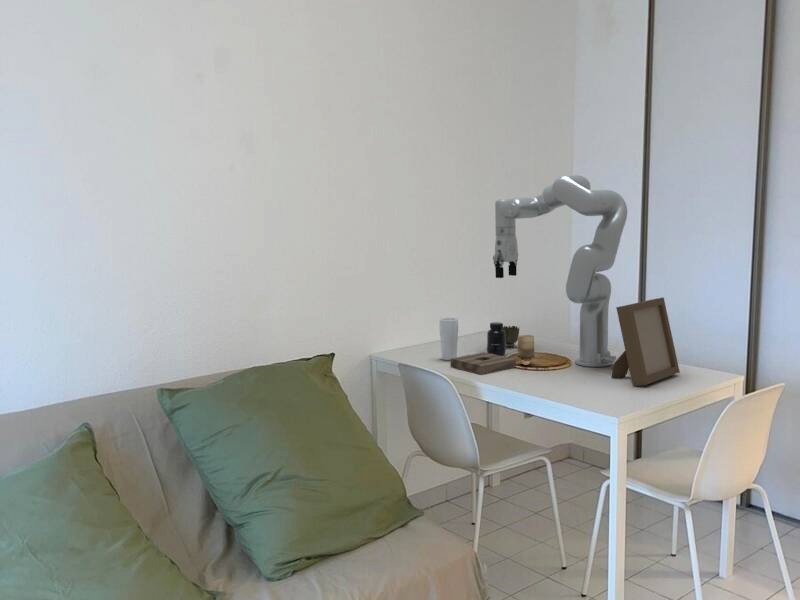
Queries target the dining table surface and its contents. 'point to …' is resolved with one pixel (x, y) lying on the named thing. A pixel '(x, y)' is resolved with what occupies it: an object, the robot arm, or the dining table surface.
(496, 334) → the supplement bottle
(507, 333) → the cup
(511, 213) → the robot arm
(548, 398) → the dining table surface
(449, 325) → the drinking glass
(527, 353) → the tan translucent cylinder
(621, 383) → the dining table surface
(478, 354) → the walnut socket block
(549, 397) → the dining table surface
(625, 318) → the photo frame
